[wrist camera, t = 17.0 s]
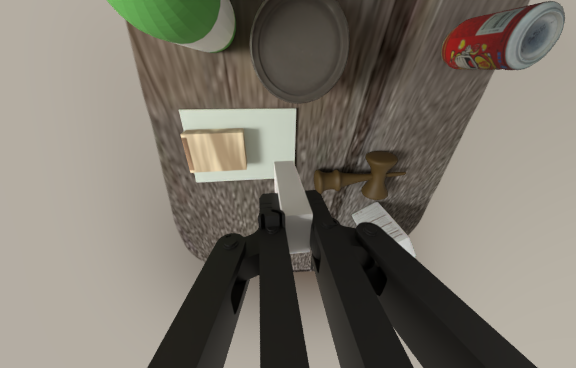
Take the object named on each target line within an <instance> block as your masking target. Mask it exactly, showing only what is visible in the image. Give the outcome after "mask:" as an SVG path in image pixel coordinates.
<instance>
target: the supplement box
mask: <svg viewBox="0 0 576 368" xmlns="http://www.w3.org/2000/svg"><path fill="white" fill-rule="evenodd" d="M352 217H353V219H354V221H355V223H356V225H358V224H359V223H361V222H370V223H374V224H376V225H378V226H379V227H381V228H382V229H383V230H384V231H385V232H386V233H387V234H388V235H390V236H391V237H392V238H393V239H394V240H395V241H396V242H397V243H399V244H400V245H401V246H402V247H403V248H404V249H405V250H406V251H407V252H409V253H410V254H411V255H412V256H413V257H416V254H415V251H414V248H413V246H412V243H411V241H410V238H409V236H408V235H407V234H406V233H405V232H404V231H403V230H402V228H401V227H400V226H399V225H398V224H397V223H396V222H395V220H394V219H393V218H392V217H391V216H390V215H389V214H388V213H387V212H386V210H385V209H384V208H383V207H382V206H381V205H380V204H379V203H378V202H375V203H373V204H371V205H369V206H367V207H365V208H364V209H362V210H360V211H358V212H356V213H354V214H352Z"/></svg>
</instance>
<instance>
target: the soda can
mask: <svg viewBox="0 0 576 368" xmlns="http://www.w3.org/2000/svg"><path fill="white" fill-rule="evenodd" d="M564 21H565V13H564V10H563V7H562V6H561V5H560V4H559V3H557V2H553V1H548V2H542V3H538V4H534V5H529V6H525V7H520V8H516V9H511V10H507V11H502V12H498V13H493V14H489V15H484V16H479V17H475V18H471V19H468V20H466V21H464V22H463V23H461V24H460V25H459V26H458V27H456V28H454V29H453V30H452V31H451V32H450V33H449V34H448V35H447V37H446V38H445V40H444V42H443V45H442V49H441V57H442V60H443V61H444V62H445V63H446V64H448V65H449V66H450V67H452V68H454V69H484V70H492V69H497V70H499V69H505V70H521V69H525V68H527V67H530V66H531V65H533V64H535V63H536V62H538V61H539V60H541V59H542V58H543V57H544V56H545V55H546V54H547V53H548V52H549V51H550V50H551V49H552V47H553V46H554V45H555V43H556V41H557V40H558V39H559V37H560V35H561V33H562V30H563V26H564Z"/></svg>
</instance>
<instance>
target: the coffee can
mask: <svg viewBox="0 0 576 368" xmlns="http://www.w3.org/2000/svg"><path fill="white" fill-rule="evenodd" d="M349 44H350V41H349V29H348V24H347V20H346V17H345V14H344V12H343V10H342V8H341V6H340V4H339V3H338V2H337V0H264V1H263V3H262V4H261V6H260V7H259V9H258V11H257V13H256V15H255V18H254V20H253V24H252V28H251V33H250V55H251V61H252V64H253V67H254V70H255V72H256V75H257V76H258V78H259V80H260V82H261V83H262V84H263V86H264V87H265V88H266V89H267V90H268V91H269V92H270V93H271V94H273V95H274V96H276V97H277V98H279V99H281V100H283V101H286V102H289V103H295V104H301V103H308V102H311V101H314V100H317V99H319V98H321V97H322V96H324V95H325V94H326V93H328V92H329V91H330V90H331V89H332V88H333V86H334V85H335V84H336V83H337V81H338V80H339V78H340V77H341V75H342V73H343V71H344V68H345V66H346V63H347V59H348V54H349Z"/></svg>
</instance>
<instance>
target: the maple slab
mask: <svg viewBox="0 0 576 368" xmlns="http://www.w3.org/2000/svg"><path fill="white" fill-rule="evenodd" d="M181 139H182V142H183V146H184V150H185V154H186V157H187V161H188V165H189V168H190V172H191V173H197V172H215V171H233V170H247V155H246V146H245V136H244V128H225V129H194V130H185V131H184V132H183V133H182V134H181Z"/></svg>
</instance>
